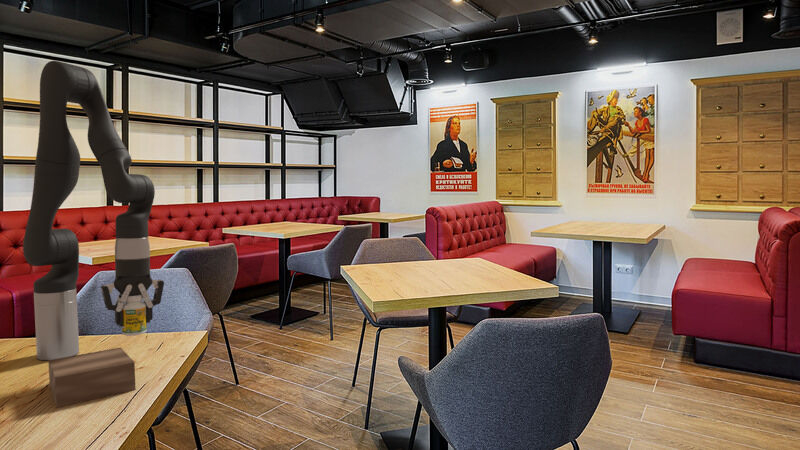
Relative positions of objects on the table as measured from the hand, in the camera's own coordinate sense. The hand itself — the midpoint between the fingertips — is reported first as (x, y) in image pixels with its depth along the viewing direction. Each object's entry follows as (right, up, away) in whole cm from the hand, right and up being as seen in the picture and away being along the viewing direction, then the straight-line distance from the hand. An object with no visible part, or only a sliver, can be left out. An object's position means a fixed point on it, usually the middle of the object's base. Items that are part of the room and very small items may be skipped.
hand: (134, 323), depth 123 cm
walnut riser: (-1, -11, -15) cm, 19 cm away
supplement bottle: (0, -3, 0) cm, 3 cm away
